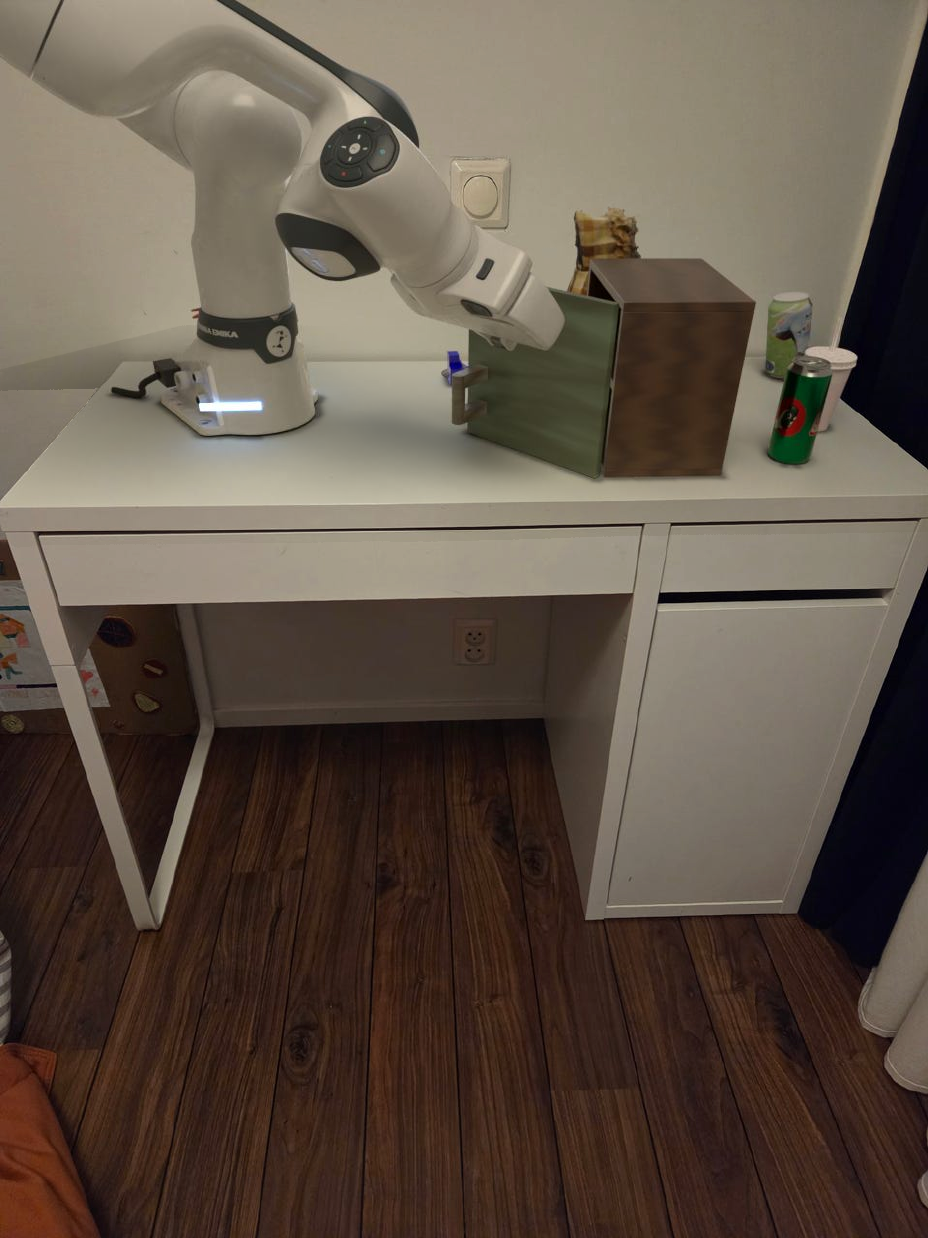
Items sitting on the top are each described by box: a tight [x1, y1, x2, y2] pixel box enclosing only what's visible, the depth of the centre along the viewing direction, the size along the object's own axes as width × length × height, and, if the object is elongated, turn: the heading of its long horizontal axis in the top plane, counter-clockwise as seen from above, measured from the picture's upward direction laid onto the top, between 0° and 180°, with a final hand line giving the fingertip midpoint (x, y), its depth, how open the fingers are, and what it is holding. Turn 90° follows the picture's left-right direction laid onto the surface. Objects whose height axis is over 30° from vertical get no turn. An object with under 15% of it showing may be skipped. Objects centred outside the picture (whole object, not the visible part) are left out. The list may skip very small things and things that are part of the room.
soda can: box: [767, 356, 833, 466], centre depth 101 cm, size 5×5×12 cm
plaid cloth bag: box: [566, 206, 642, 296], centre depth 119 cm, size 14×14×25 cm
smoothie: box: [804, 316, 858, 433], centre depth 109 cm, size 6×6×14 cm
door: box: [451, 286, 619, 479], centre depth 97 cm, size 6×20×20 cm, turn 48°
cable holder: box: [446, 350, 468, 387], centre depth 125 cm, size 8×4×4 cm, turn 99°
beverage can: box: [764, 291, 813, 380], centre depth 126 cm, size 6×7×12 cm
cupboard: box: [587, 257, 757, 479], centre depth 102 cm, size 14×20×20 cm
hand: (506, 343), depth 96 cm, fingers closed
